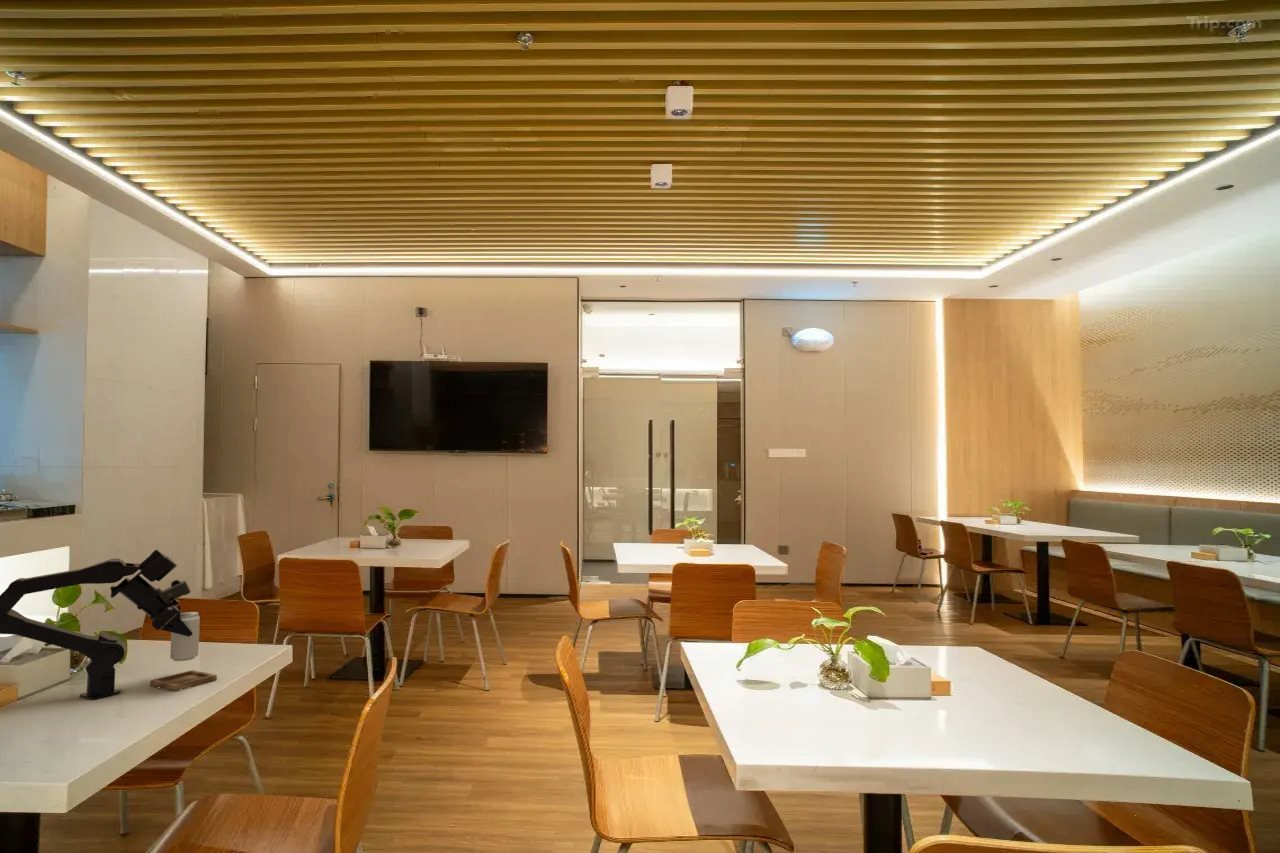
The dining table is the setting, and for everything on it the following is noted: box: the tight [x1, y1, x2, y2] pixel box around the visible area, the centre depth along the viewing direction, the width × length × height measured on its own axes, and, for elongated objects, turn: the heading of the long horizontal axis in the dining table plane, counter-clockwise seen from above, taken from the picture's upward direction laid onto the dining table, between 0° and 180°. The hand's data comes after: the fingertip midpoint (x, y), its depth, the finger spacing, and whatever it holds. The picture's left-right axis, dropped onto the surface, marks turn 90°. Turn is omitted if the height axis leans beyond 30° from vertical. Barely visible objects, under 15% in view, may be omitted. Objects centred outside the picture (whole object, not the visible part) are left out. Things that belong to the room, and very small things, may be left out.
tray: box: [149, 669, 218, 692], centre depth 192 cm, size 11×11×2 cm
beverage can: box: [169, 611, 201, 662], centre depth 192 cm, size 6×6×12 cm
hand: (191, 632), depth 193 cm, fingers closed on beverage can, 6 cm apart
